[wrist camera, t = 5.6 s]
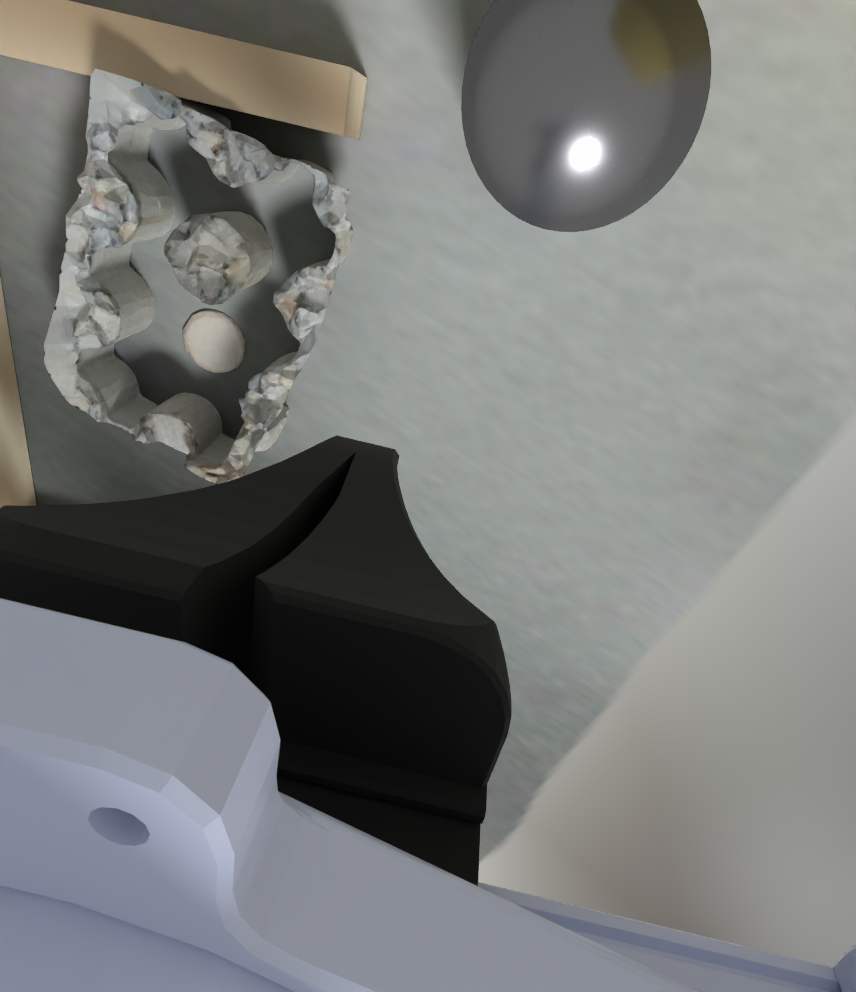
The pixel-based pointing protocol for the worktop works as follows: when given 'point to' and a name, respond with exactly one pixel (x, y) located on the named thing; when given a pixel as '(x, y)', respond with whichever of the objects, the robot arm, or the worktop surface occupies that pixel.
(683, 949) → the robot arm
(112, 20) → the beech bay
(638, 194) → the jar with metallic lid
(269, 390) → the egg carton
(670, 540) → the worktop surface
